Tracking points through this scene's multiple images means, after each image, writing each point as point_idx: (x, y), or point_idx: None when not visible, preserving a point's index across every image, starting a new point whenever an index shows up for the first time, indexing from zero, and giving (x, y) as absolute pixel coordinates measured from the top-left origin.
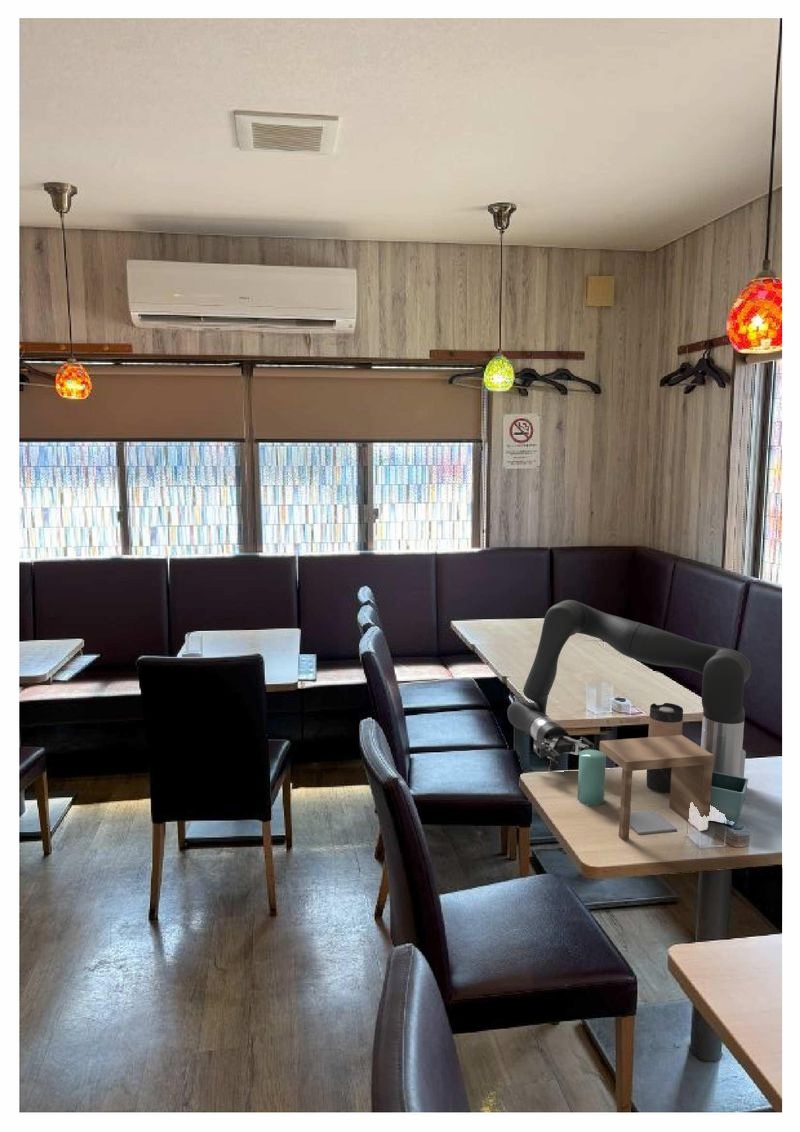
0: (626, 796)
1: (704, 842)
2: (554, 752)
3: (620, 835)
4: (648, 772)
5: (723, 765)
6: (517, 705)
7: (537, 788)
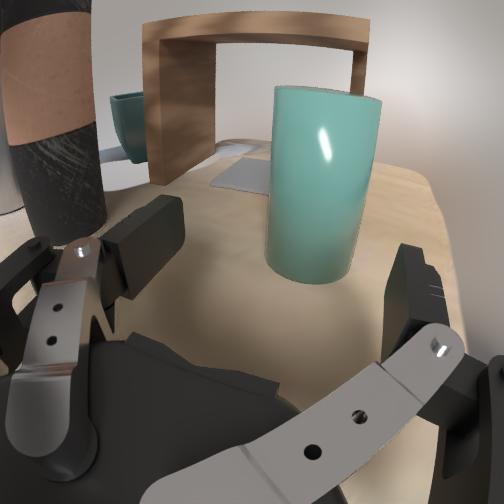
0: None
1: (238, 147)
2: (427, 282)
3: None
4: (86, 188)
5: None
6: None
7: None
